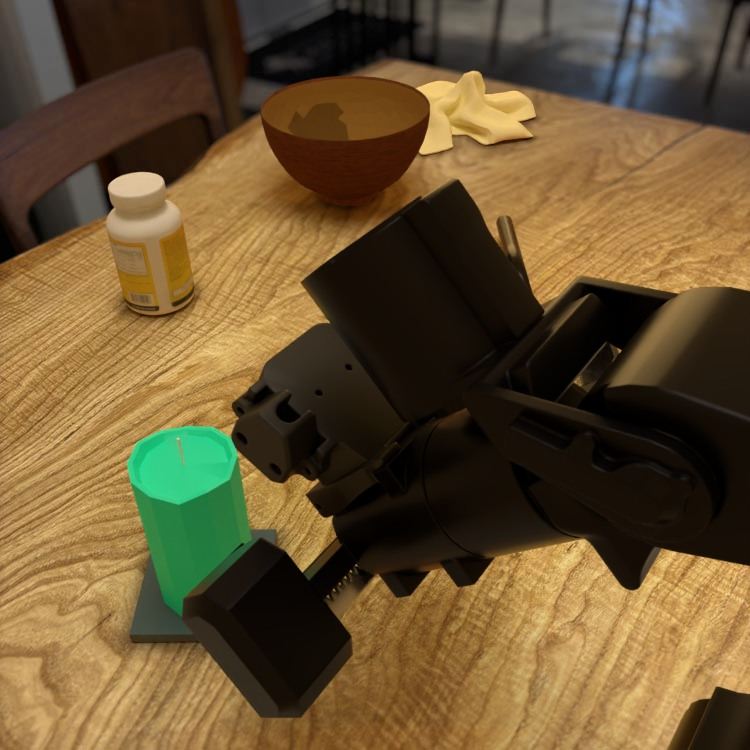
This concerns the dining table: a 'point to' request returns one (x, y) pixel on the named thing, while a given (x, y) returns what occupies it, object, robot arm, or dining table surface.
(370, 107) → the bowl
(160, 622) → the coaster
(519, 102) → the cloth
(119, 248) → the pill bottle
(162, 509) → the candle
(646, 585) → the dining table surface
